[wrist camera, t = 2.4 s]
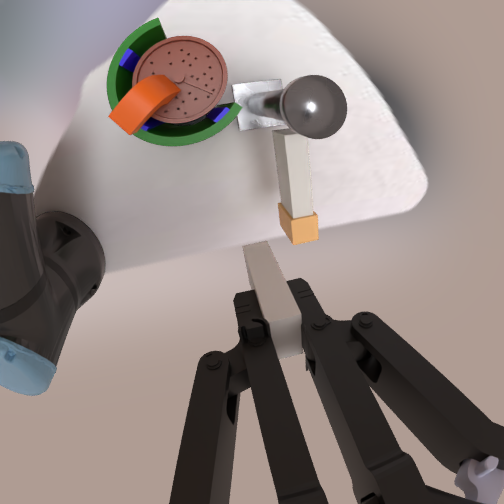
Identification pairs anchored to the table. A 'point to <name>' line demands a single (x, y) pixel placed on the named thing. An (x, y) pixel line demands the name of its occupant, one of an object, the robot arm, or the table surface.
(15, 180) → the robot arm
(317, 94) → the post
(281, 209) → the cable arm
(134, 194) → the table surface
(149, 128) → the motor
